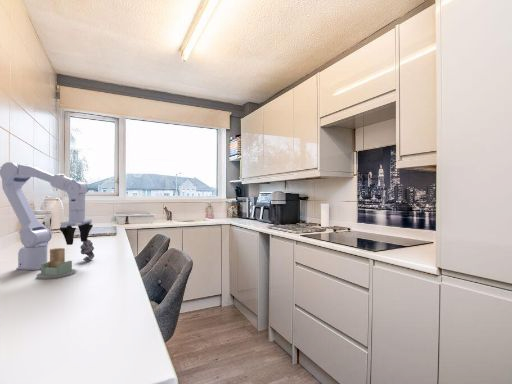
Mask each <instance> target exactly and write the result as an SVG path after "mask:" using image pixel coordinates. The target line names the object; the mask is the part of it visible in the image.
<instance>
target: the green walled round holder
mask: <svg viewBox="0 0 512 384" xmlns="http://www.w3.org/2000/svg"><path fill="white" fill-rule="evenodd" d="M74 274H76V269H74V268H73V260H67V261H65V262H63V263H59V264H57V268H53V267H50V260H49V261H47V262H45V263H42V264H41V269H40V273H37V274H36V279H38V280H51V279H52V280H53V279H60V278H64V277H69V276H71V275H72V276H73V275H74Z"/></svg>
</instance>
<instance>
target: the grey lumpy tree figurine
mask: <svg viewBox="0 0 512 384" xmlns="http://www.w3.org/2000/svg"><path fill="white" fill-rule="evenodd" d="M79 248H80V254H81V255H86V256H85V257H84V258H83V259H82V260H83V261H85V262H88V261H92V260H93V259H94V258H95V253H94V252H93V251H94V250H95V247H94V246H93V242H92V240H91V239H88V238H87V241H86V242H82V245H81V244H80V247H79Z"/></svg>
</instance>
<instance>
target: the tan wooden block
mask: <svg viewBox="0 0 512 384" xmlns="http://www.w3.org/2000/svg"><path fill="white" fill-rule="evenodd" d="M65 254H66V251H65V248H62V247H61V248H58V247H54V248H50V249H49V261H50V267H53V268H57V264H59V263H63V262H66V261H65V257H66V255H65Z"/></svg>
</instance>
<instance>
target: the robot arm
mask: <svg viewBox="0 0 512 384" xmlns="http://www.w3.org/2000/svg"><path fill="white" fill-rule="evenodd" d="M0 178H1V187H2V191H3V192H4V195H5V196H6V198H7V200H8V202H9V204H10V206H11V207H12V210H13V212H14V213H15V215H16V218H17V219H18V221H19V223H20V226H21V228H20V229H19V230H18V234H19V236H20V243H21V245H23V246H21V248H19V250H18V252H17V253H18V254H17V260H18V261H17V267H15V269H16V270H27V271H28V270H29V271H30V270H31V271H37V270H41V264H42V263H45V262H48V245H49V242H50V241H51V239H52V235H53V234H52V232H51V230H49V229H48V228H47V227H46V226H45V224H43V222H40V221H38V219H37V216H36V214H35V213H34V209H32V207H31V205H30V203H29V201H28V199H27V197H26V195H25V192H24V191H23V189H22V187H23V186H24V185H25V184H26V183H27V182H28V181H29V180H30V179H31V178H37V179H40V180H42V181H46V182H48V183H50V186H51V187H52V188H55V189H58V190H61V191H63V192H65V193H66V194H67V195H68V220H67V221H63V222H60V228H59V230H60V232H61V234H62V235H63V237H64V240H65V243H66V245H67V246H72V245H73V244H74V236H75V232H76V231H77V228H76V226H77V227H78V230H79V236H80V242H81V243H83V242H86V241H87V239H88V237H89V234H90V232H91V230H92V228H93V225H94V224H92V222H93V221H92V220H93V219H90V218H89V219H88V218H87V219H86V194H87V193H88V191H89V188H88V187H89V186H88V185H87V184H86V183H85V182H84V181H77V179H76V178H70V177H67V176H66V174H64V173H56V174H52V173H50V172H47V171H45V170H43V169H41V168H38V167H35V166H33V165H28V164H21V163H20V164H19V163H14V162H11V161H9V162H5V163H3V164H2V165H1V167H0Z"/></svg>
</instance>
